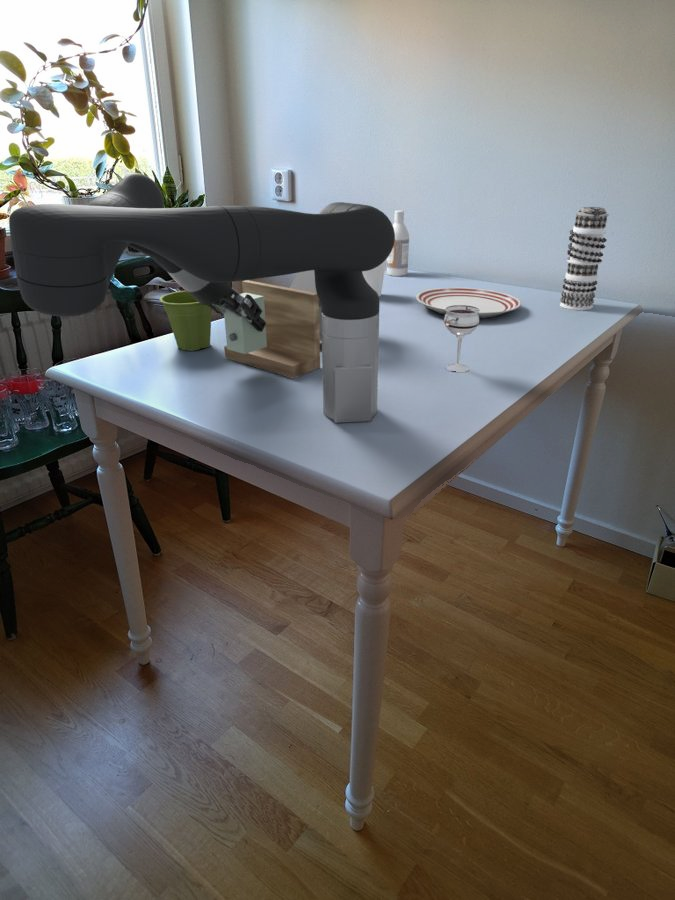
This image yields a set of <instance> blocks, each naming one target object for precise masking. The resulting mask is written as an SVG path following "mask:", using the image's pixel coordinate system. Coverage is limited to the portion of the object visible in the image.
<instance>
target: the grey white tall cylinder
mask: <svg viewBox="0 0 675 900" xmlns="http://www.w3.org/2000/svg"><path fill="white" fill-rule="evenodd" d="M609 216H610V214H608V213H607V210H606V209H605V208H604V207H601V206H599V207H598V206H585V207H581V208H580V209H579V211H578V212H576V213H575V220H574V225H573V229H572V230H569V234H570V235H569V237H568V240H569V241H570V243H569V244H568V245H567V247H568V250H567V251H566V252H567V253H566V254H567V255H568V257H567V259H566V262H567V269H566V272H565V278H563V283H564V284H563V285H562V289H563V290H562V291H561V292H560V294H561V297H560V302H559V306H560V307H561V308H562V309H563V308H564V309H567V310H572V311H573V310H574V311H588V310H592V309H593V304H594V303H595V300H594V298H596V294H595V292H594V291H596V290H597V284H598V281H597V279H598V269H599V265H600V264H601V263H602V262H603V260H602V259H601V257H603V256H604V253H603V252H601V251H602V250H604V249H605V248H606V245H605V244H604V243H606V242H607V239H606V238H605V237H604V235H605V234H606V231H607V221H608V217H609Z"/></svg>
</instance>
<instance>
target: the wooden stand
mask: <svg viewBox="0 0 675 900" xmlns="http://www.w3.org/2000/svg"><path fill="white" fill-rule="evenodd" d="M241 284H242V285H241V286H242V293H250V294H255V295H260V296H264V307H265V322H266V339H267V347H264V348H261V349H258V350H255V351H252V352H249V353H247V354H243V353H239V352H236V351H232V350H229V349H227V345H224V346H223V349H224V358H225V359H228V360H232V361H234V362H237V363H240V364H245V365H247V366H251V367H255V368H259V369H261V370H265V371H268V372H271V373H274V374H278V375H281V376H284V377H288V378H291V379H295V378H298V377H300V376H303V375H305V374H307V373H311V372H312V371H315V370H317V369H320V368H321V351H320V336H319V297H318V295H317V293H313V292H308V291H302V290H297V289H292V288H290V287H286V286H281V285H280V286H279V285H276V284H272V283H271V284H269V283H264V282H261V281H254V280H244V281H241Z"/></svg>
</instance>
